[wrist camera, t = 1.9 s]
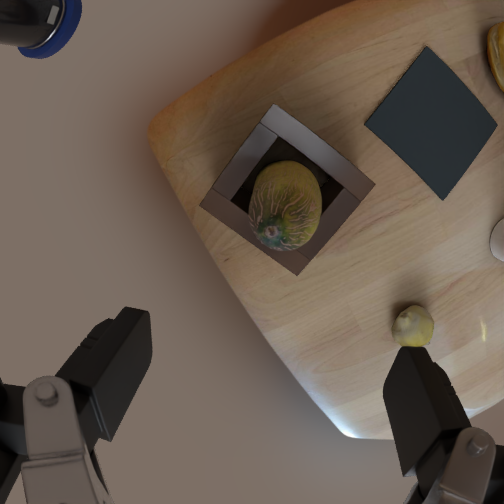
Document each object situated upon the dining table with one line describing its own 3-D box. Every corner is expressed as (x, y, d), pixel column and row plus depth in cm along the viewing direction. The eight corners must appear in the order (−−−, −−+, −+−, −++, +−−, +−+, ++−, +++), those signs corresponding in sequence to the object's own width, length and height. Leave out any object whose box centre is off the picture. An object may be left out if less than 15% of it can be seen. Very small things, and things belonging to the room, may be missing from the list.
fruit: (411, 352, 44) (375, 326, 42) (433, 320, 44) (400, 290, 41) (433, 369, 39) (398, 345, 36) (457, 335, 38) (425, 305, 36)
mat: (364, 124, 34) (364, 124, 33) (425, 46, 29) (427, 46, 28) (441, 200, 36) (443, 201, 35) (496, 124, 31) (497, 125, 30)
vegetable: (287, 143, 35) (292, 157, 17) (323, 183, 37) (363, 240, 18) (248, 178, 37) (214, 229, 19) (285, 216, 39) (285, 301, 20)
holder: (215, 190, 38) (198, 205, 31) (275, 108, 34) (273, 102, 27) (294, 248, 40) (297, 276, 33) (357, 172, 36) (375, 184, 28)
